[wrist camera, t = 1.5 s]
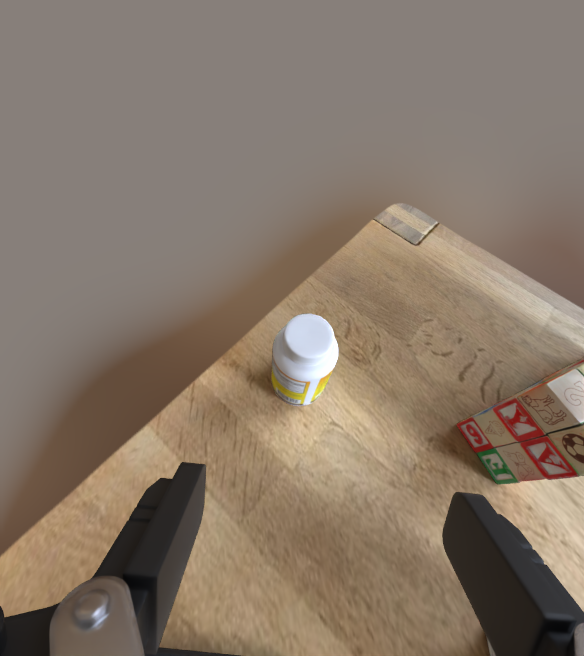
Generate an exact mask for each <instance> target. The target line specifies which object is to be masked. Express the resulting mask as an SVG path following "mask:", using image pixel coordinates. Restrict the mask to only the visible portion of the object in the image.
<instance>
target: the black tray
mask: <svg viewBox="0 0 584 656" xmlns="http://www.w3.org/2000/svg"><path fill="white" fill-rule="evenodd" d="M145 656H239V655H229V654H219V653H209V652H199V651H188V650H178V649H168V648H158V650H157V653H156V655H155V654H145Z"/></svg>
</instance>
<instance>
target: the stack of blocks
mask: <svg viewBox="0 0 584 656" xmlns="http://www.w3.org/2000/svg"><path fill="white" fill-rule="evenodd" d="M457 427H458V428H459V430H460V431H461V433H462V434H463V436H464V437H465V438H466V440H467V441H468V443H469V444H470V446H471V447H472V449H473V450H474V452H476V453H477V455H478V457H479V458H480V460H481V461H482V463H483V464H484V466H485V467H486V469H487V470H488V472H489V473H490V475H491V476H492V478H493V479H494V481H495V482H496V483H497V484H510V483H520V482H522V481H532V480H542V479H548V480H553V479H563V478H571V477H579V476H584V358H582V359H581V360H579V361H577V362H575V363H573V364H571V365H569V366H567V367H565V368H563V369H561V370H560V371H557V372H555V373H554V374H552V375H550V376H548V377H546V378H544V379H542V380H541V381H540V382H538V383H536V384H534V385H532V386H530V387H528V388H526V389H524V390H523V391H521V392H519V393H517V394H515V395H513V396H511V397H509V398H507V399H505V400H503V401H501V402H498V403H496V404H494V405H492V406H491V407H489V408H486V409H484V410H482V411H480V412H478V413H476V414H474V415H472V416H470V417H468V418H466V419H464V420H462V421H461V422H459V423H457Z"/></svg>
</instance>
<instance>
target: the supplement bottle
mask: <svg viewBox="0 0 584 656" xmlns="http://www.w3.org/2000/svg"><path fill="white" fill-rule="evenodd" d="M337 359H338V345H337V341H336V339H335V337H334V332H333V329H332V327H331V326H330V324H329V323H328V322H327V321H326V320H325V319H323V318H322V317H320V316H318V315H314V314H300V315H297V316H295V317H293V318H292V319H291V320H290V321H289V322H288V323H287V325H286V326H284V327H283V328H282V329H281V330H280V331H279V332H278V334H277V335H276V337H275V339H274V343H273V350H272V386H273V389H274V391H275V393H276V394H277V396H278V397H279V398H280V399H281V400H283V401H284V402H286V403H288V404H290V405H294V406H304V405H308V404H311V403H312V402H314V401H315V400H317V399H318V398H319V397H320V395H321V394H322V392H323V390H324V388H325V386H326V384H327V382H328V379H329V377H330V375H331V373H332V371H333V369H334V366H335V364H336V362H337Z"/></svg>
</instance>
